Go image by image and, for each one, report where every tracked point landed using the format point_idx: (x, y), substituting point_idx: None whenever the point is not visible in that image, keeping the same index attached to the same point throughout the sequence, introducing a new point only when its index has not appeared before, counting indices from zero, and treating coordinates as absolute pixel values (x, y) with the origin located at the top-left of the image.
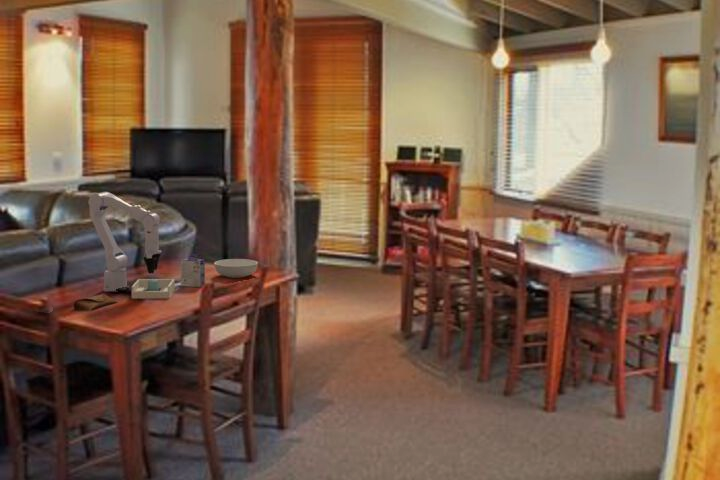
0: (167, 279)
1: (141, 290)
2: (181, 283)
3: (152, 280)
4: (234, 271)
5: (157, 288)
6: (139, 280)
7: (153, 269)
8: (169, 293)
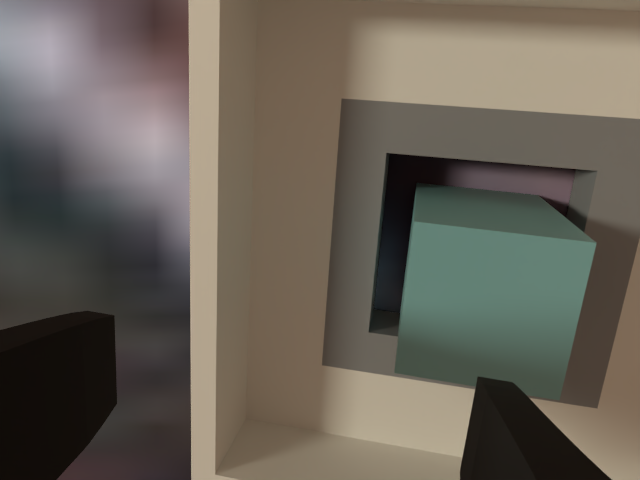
0: (219, 72)
1: None
2: None
3: (451, 322)
4: None
5: (525, 209)
6: (237, 472)
7: (560, 435)
8: None
